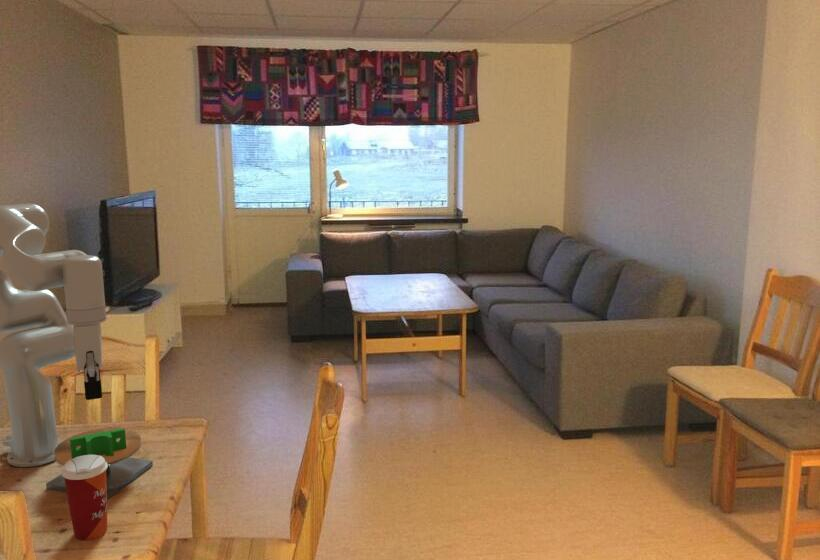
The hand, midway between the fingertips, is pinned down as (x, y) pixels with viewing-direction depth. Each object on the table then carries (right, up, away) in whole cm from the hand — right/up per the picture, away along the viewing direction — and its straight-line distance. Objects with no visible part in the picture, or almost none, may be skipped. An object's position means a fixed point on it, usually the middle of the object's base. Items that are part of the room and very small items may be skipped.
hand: (93, 390), depth 151 cm
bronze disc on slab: (-3, -21, +10) cm, 24 cm away
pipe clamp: (0, -15, +4) cm, 15 cm away
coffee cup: (+5, -27, -11) cm, 29 cm away
